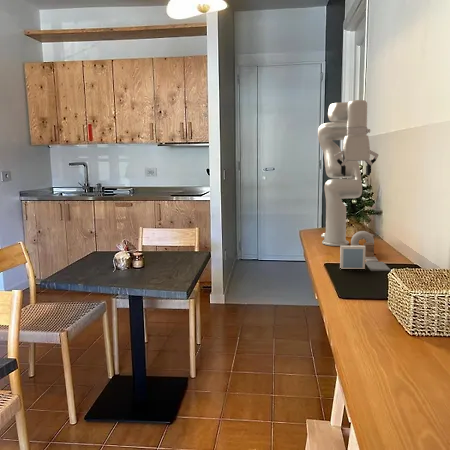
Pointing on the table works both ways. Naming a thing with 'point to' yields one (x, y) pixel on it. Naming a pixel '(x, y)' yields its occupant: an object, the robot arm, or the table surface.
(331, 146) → the robot arm
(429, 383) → the table surface
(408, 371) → the table surface
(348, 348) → the table surface
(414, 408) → the table surface
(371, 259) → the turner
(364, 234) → the donut
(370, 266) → the mat
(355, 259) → the tile
